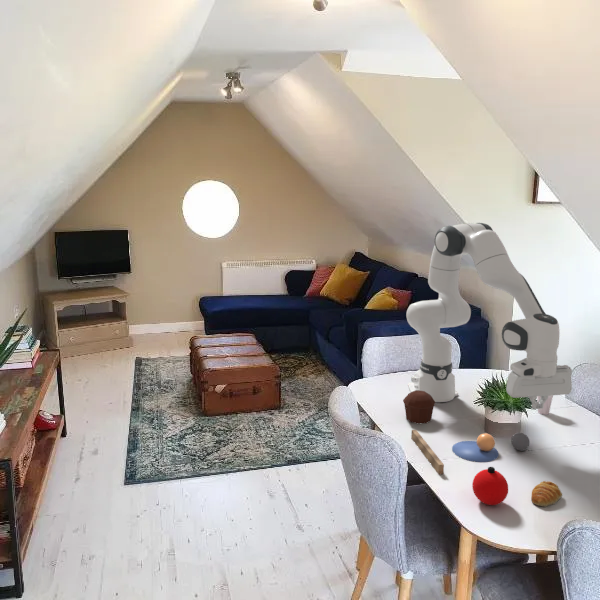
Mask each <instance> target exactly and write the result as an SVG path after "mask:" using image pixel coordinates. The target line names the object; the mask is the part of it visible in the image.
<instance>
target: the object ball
mask: <svg viewBox="0 0 600 600" xmlns="http://www.w3.org/2000/svg"><path fill="white" fill-rule="evenodd" d="M476 441H477V445H478V447H479V448H480V449H481V450H483V451H490V450H492V449H493V448H495V446H496V441H495V438H494V437H493V436H492V434H489V433H487V432H485V433H481V434H479V435H478V437H477V439H476Z"/></svg>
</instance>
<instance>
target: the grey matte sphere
mask: <svg viewBox="0 0 600 600" xmlns="http://www.w3.org/2000/svg"><path fill="white" fill-rule="evenodd" d="M510 442H511V446H512V447H513V448H514V449H515V450H517V451H522V452H523V451H525V450H527V449H528V448H529V447H530V444H531V441H530V438H529V436H527V435H526V433H522V432H515V433H514V434H513V435H512V437H511V439H510Z"/></svg>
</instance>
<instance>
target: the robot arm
mask: <svg viewBox="0 0 600 600" xmlns="http://www.w3.org/2000/svg"><path fill="white" fill-rule="evenodd" d="M468 255H469V256H471V259H472V262H473V264H474V267H475V270H476V271H477V275H478V277H479V279H480V280H481V281H482V282H483V284H484V285H486V286H488V287H489V288H492V289H496V290H499V291H502V292H505V293H507V294H509V295H510V296H512V297H513V298H514V300H515V301H516V303H517V305H518V307H519V308H520V310H521V313H522V314H523V316H524V318H521V319H516V320H515V319H514V320H511V321H508V322H506V323H505V324H504V325H503V327H502V330H501V339H502V342H503V343H504V345H505V346H506V347H507V348H508V349H509V350H512V351H521V352H522V351H523V352H525V353H526V357H525V358H523V359H521V360H517V361H516V362H512V363H511V364H510V369H509V370H511V372H509V374H508V376H507V381H506V388H505V389H506V393H507V395H509V396H510V397H511V398H513V399H515V398H526V397H527V398H529V400H530V401H531V408H532V409H533V410H538V409H543V406H544V403H545V402H546V400H547V399H548V396H550V395H553V396H564V395H569V394H571V392H572V389H573V388H572V386H573V385H572V384H573V383H572V375H573V374H572V373H573V370H572V368H571V367H570V366H569V365H567V364H564V365H560V364H559V365H558V354H557V353H558V352H557V351H558V349H559V345H560V323H559V321H558V319H557V318H555V317H554V316H553V315H551V314H546V312H545V310H544V309H543V307H542V306H541V304H540V302H539V300H538V298H537V297H536V294H535V293H534V291H533V290H532V288H531V286H530V284H529V283H528V281H527V279H526V278H525V276H524V275H523V274H521V272H519V271H518V269H517V268H516V267H515V266H514V264H513V262H512V261H511V258H510V257H509V254H508V251H507V249H506V247H505V245H504V244H503V242H502V240H501V238H500V237H499V235H498V234H497V233H496V232H495V231H494V230H493V228H492V227H491V226H490V225H489V224H487V223H483V222H475V223H474V222H466V223H463V222H462V223H460V224H454V225H446V226H444V227H441V228H439V229H438V230H437V232H436V233H435V236H434V246H433V249H432V252H431V257H430V261H429V269H428V279H427V283H428V285H429V287H430V289H431V290H433V291H434V292H436V293H438V298H437V299H429V300H428V299H427V300H420V301H416V302H414V303H411V304H409V306H408V308H407V310H406V315H405V316H406V320H407V323H408V325H409V327H411V328H413V329H414V330H415V331H416V332H417V333H418V335H419V337H420V339H421V340H420V341H421V345H422V346H421V347H422V353H421V354H422V355H421V356H422V359H421V361H420V364H419V366H420V367H419V369H418V370H417V371H415V372H414V374H413V376H411V380H410V381H411V382H410V381H409V382H408V383H407V386H408V391H409V393H411V392H413V391H418V390H419V391H425V392H426V393H428V394H430V395H431V396H432V398H433V399H434V401H435V403H445V402H450V401H452V400H454V398H455V397H458V396H459V392H458V391H456V377H455V375H454V373H452V371H453V361H452V356H453V355H452V352H453V350H452V349H453V345H452V342H451V341H450V340H449V339H448V338H446V337H445V336H442V335H441V329H443V328H455V327H459V326H462V325H466V324H468V322H469V321H470V319H471V314H472V309H471V306H470V305H469V303H468V302H467V301H466V300H465V299H464V298H463V297H462V295H461V293H460V289H459V283H460V282H459V281H460V279H459V278H460V272H461V265H462V258H463V257H464V256H468ZM537 396H541V398H540V400H539V402H537V401H536V400H537Z"/></svg>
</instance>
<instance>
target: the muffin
mask: <svg viewBox="0 0 600 600" xmlns="http://www.w3.org/2000/svg"><path fill="white" fill-rule="evenodd" d="M402 402H403V405H404V411H405V418H406V419H405V420H407V421H409V422H410V423H413V424H417V423H418V424H417V425H420V423H422V424H427V422H428V423H430V422H431V421H432V417H433V412H434V407H435V405H436V402H435V401H434V399H433V398H432V396H431V395H430V394H428V393H426V392H425V391H419V390H418V391H413V392H411V393H410V392H409V393H408V394H407V395H406V396H405V397H404V398H403V399H402Z"/></svg>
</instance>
